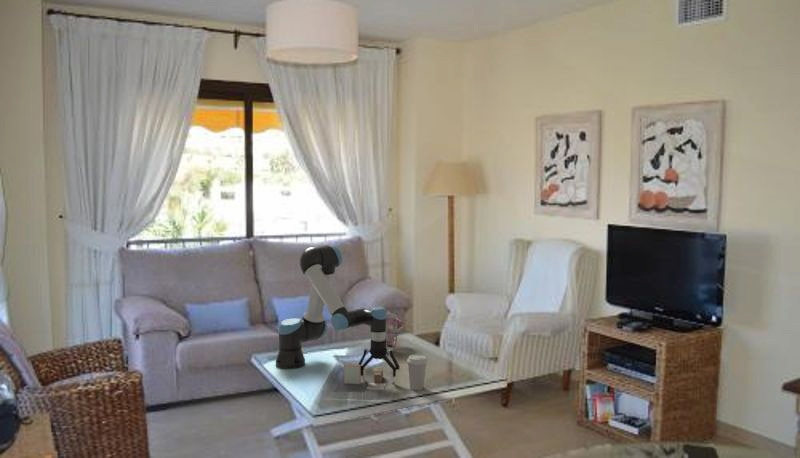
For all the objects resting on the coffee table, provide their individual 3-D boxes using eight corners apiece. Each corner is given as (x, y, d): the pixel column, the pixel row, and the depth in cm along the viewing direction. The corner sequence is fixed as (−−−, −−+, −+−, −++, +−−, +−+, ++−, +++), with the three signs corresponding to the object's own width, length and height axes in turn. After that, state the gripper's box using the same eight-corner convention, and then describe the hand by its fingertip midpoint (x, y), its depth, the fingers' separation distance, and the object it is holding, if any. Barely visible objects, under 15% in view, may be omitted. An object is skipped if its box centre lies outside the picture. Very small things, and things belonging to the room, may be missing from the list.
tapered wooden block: (371, 378, 330) (371, 368, 329) (388, 378, 329) (388, 368, 328) (366, 390, 312) (366, 380, 311) (383, 391, 311) (383, 381, 311)
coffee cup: (409, 392, 310) (409, 360, 309) (404, 385, 319) (405, 354, 318) (429, 391, 312) (429, 359, 310) (424, 384, 321) (424, 353, 320)
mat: (338, 382, 322) (338, 381, 322) (367, 383, 321) (367, 382, 321) (333, 392, 309) (333, 391, 309) (363, 393, 308) (363, 392, 308)
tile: (344, 382, 321) (344, 364, 320) (360, 382, 321) (360, 364, 320) (343, 383, 319) (343, 365, 318) (360, 384, 318) (360, 366, 317)
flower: (421, 345, 382) (407, 303, 387) (400, 350, 362) (385, 306, 368) (393, 355, 391) (380, 314, 397) (371, 361, 372) (358, 318, 377)
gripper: (351, 340, 317) (351, 384, 320) (403, 342, 315) (403, 386, 317) (353, 336, 325) (353, 379, 327) (405, 338, 323) (404, 380, 325)
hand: (378, 382), depth 322 cm, fingers open, 13 cm apart
